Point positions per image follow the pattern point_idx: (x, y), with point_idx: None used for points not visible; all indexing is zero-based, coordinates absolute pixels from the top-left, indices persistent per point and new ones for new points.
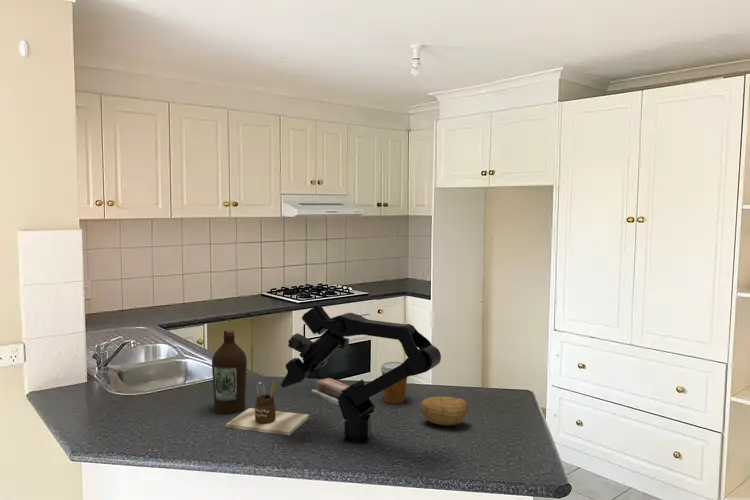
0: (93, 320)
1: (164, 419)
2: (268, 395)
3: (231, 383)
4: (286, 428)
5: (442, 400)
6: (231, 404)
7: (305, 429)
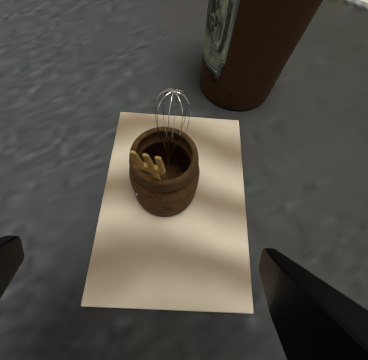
0: None
1: (144, 15)
2: (192, 156)
3: (219, 21)
4: (111, 282)
5: None
6: (209, 79)
7: (146, 344)
